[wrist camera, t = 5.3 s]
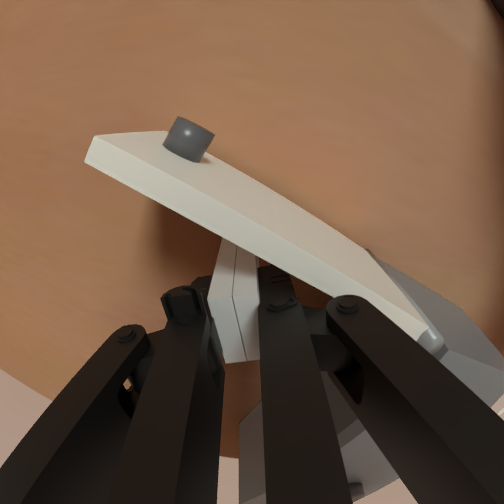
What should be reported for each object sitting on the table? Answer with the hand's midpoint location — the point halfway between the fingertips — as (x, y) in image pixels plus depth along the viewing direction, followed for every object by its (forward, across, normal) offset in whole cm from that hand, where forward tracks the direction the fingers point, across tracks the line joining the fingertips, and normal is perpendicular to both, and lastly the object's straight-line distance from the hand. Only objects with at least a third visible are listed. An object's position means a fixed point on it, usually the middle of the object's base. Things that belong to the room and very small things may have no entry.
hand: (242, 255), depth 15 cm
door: (+1, +3, +3) cm, 4 cm away
